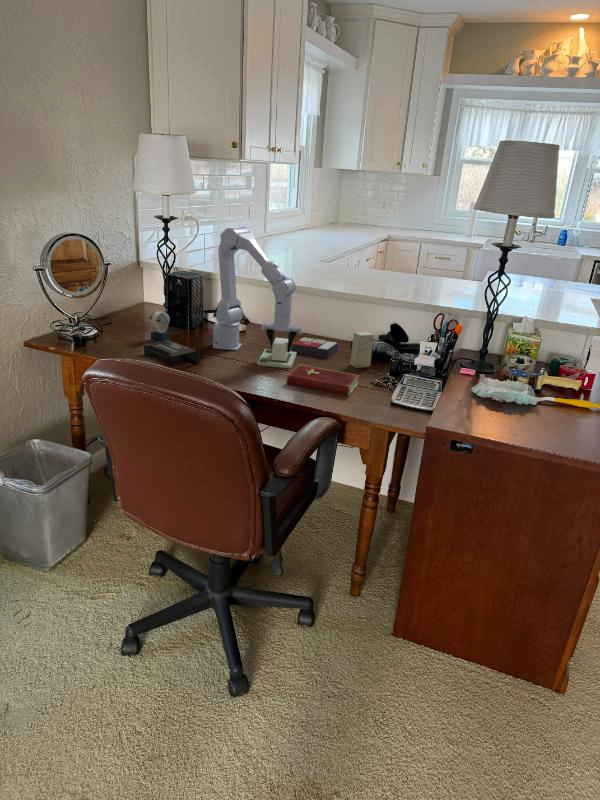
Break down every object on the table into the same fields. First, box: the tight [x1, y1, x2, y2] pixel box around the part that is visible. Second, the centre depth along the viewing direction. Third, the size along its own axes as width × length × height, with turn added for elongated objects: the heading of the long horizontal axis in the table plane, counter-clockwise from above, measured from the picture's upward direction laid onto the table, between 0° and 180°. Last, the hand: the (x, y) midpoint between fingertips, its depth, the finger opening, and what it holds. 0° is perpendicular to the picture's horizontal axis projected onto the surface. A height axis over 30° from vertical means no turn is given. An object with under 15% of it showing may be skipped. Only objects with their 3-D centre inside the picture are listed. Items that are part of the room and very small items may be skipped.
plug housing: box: [271, 337, 289, 361], centre depth 200 cm, size 5×9×6 cm, turn 174°
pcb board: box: [256, 347, 298, 370], centre depth 201 cm, size 12×16×4 cm
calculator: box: [290, 337, 339, 360], centre depth 214 cm, size 11×4×15 cm
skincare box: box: [349, 331, 375, 369], centre depth 200 cm, size 6×4×12 cm
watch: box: [150, 310, 171, 342], centre depth 212 cm, size 6×8×11 cm
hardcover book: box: [286, 363, 361, 398], centre depth 181 cm, size 12×21×4 cm, turn 70°
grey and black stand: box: [143, 316, 200, 367], centre depth 193 cm, size 20×14×17 cm
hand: (280, 350), depth 201 cm, fingers open, 5 cm apart
